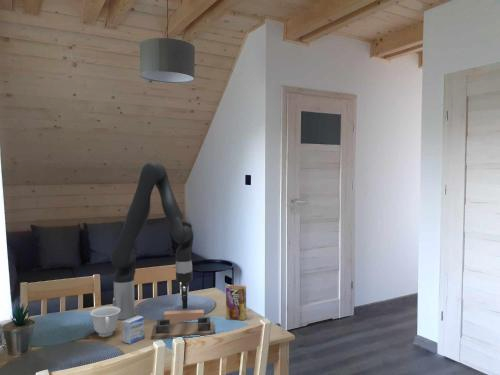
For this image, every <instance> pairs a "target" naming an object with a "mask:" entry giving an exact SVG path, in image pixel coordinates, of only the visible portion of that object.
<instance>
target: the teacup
mask: <svg viewBox="0 0 500 375" xmlns="http://www.w3.org/2000/svg"><path fill="white" fill-rule="evenodd" d="M119 312H120V308H118V307H114V306H113V305H112V306H111V305H109V306H101V307H97V308H94V309H92V310H91V311H90V312H89V314H90V315H91V317H92V322H93V324H92V325H93V328H94V331H95V332H96V333H97V334H98V337H101V338H107V337H110V336H112V335H113V334H114V332H115V330H117V327H118V321H119V319H118V315H119Z"/></svg>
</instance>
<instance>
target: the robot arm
mask: <svg viewBox="0 0 500 375" xmlns="http://www.w3.org/2000/svg"><path fill="white" fill-rule="evenodd" d="M155 186H156V189H157V190H158V192H159V197H160V202H161V206H162V211H163V213H164V215H165V217H166V220H167V221H168V225H169V230H170V235H171V237H172V239H173V240H174V241H175V243H178V247H177V249H176V250H175V281H176V283H180V285H179V289H180V290H179V291H180V296H181V303H182V304H181V306H182V310H187V309H188V300H189V298H188V296H189V290H190V289H189V288H190V284H189V283H191V282H192V281H193V262H192V248H193V242H194V231H193V229H192V228H191V227H190V226H188V225H184V226H183V222H182V221H183V220H184V215H183V213H182V211H181V209H180V206H179V205H178V202H177V200H176V198H175V195H174V193H173V190H172V187H171V183H170V180H169V177H168V172H167V169H166V168H165V166H164V165H163V164H161V163H158V162H153V161H152V162H148V163H145V164H144V165H143V167H142V168H141V171H140V174H139V179H138V182H137V187H136V191H135V193H134V196H133V198H132V201H131V204H130V206H129V208H128V212H127V214H126V217H125V221H124V223H123V227H122V229H121V232H120V234H119V237H118V240H117V241H116V243H115V245H114V249H113V250H112V251H111V254H110V262H111V264H112V265H113V267H114V268H115V269H116V270H115V272H114V274H113V298H112V306H114V307H118V308H120V312H119V315H118V321H119V320H122V321H125V320H127V319H130V318H132V317H135V316H136V315H135V312H136V311H135V276H136V270H137V269H136V267H137V266H136V263H137V259H136V258H137V255H136V251H135V249H134V248H133V247H134V244H135V242H136V241H137V239H138V237H139V235H140V234H141V232H142V231H143V230H144V229H143V228H144V227H145V226H146V223H147V220H148V218H149V215H150V212H151V196H152V194H153V190H154V187H155Z"/></svg>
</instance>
